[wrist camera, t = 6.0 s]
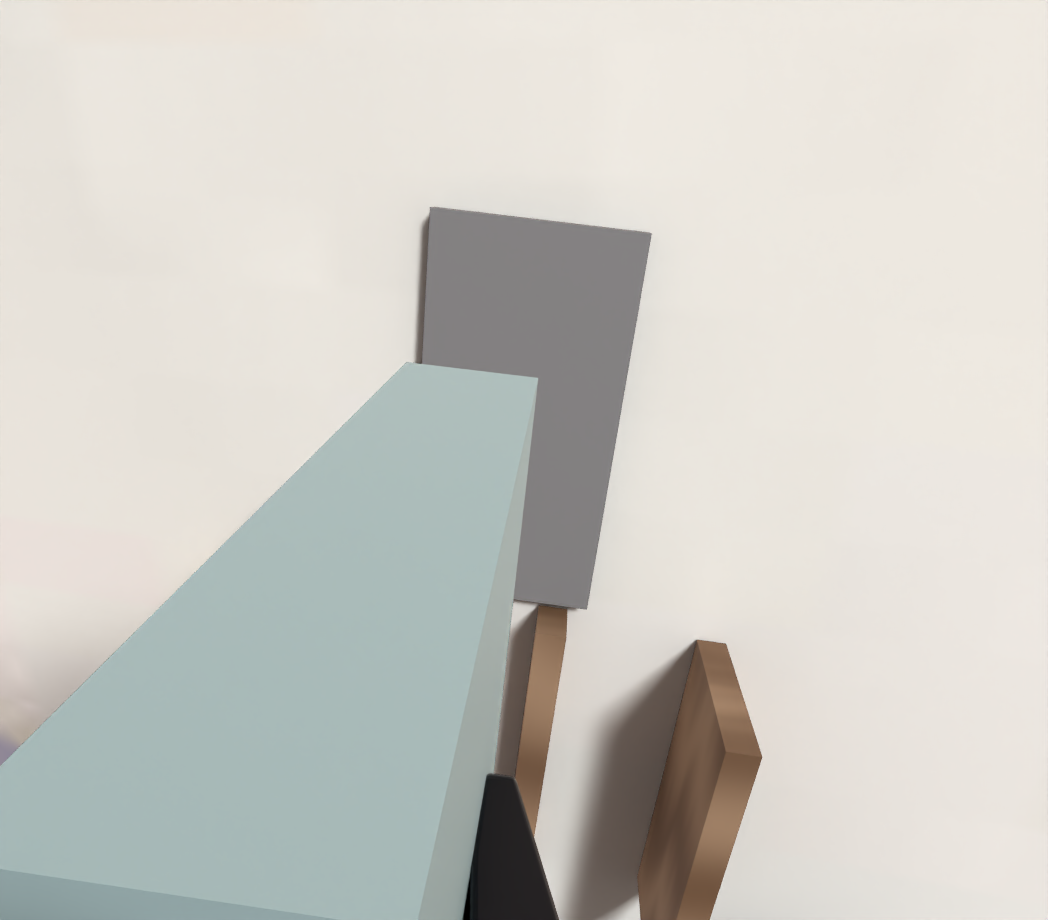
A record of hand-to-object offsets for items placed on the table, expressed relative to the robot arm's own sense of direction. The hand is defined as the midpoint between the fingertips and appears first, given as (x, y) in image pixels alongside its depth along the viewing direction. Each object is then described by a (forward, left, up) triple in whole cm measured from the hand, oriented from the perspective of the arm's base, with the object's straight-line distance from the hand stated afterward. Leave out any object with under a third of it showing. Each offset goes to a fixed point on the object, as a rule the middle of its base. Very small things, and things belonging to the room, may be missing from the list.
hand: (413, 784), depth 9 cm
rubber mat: (+1, 0, -13) cm, 13 cm away
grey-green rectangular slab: (0, 0, -3) cm, 3 cm away
